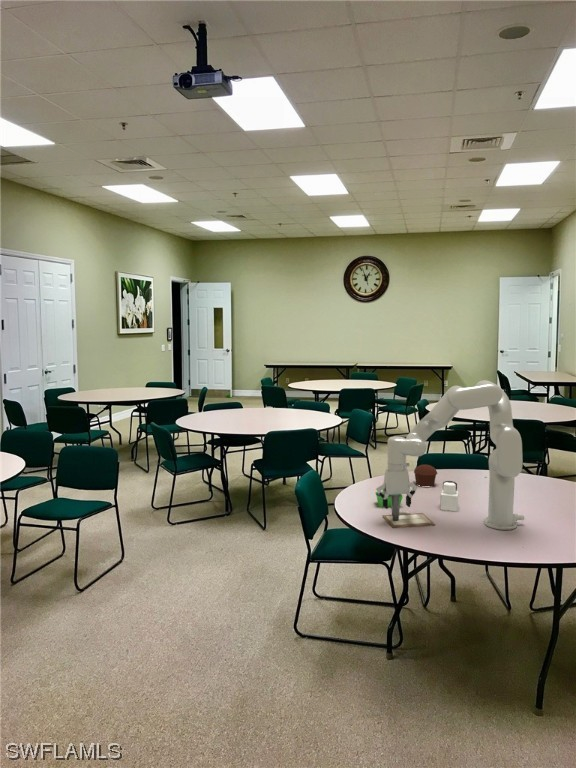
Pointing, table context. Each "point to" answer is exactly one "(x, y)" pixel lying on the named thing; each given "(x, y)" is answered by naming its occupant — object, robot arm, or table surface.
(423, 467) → the muffin
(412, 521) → the clipboard
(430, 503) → the table surface
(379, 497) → the fruit basket
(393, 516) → the marker
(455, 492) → the white handled container
